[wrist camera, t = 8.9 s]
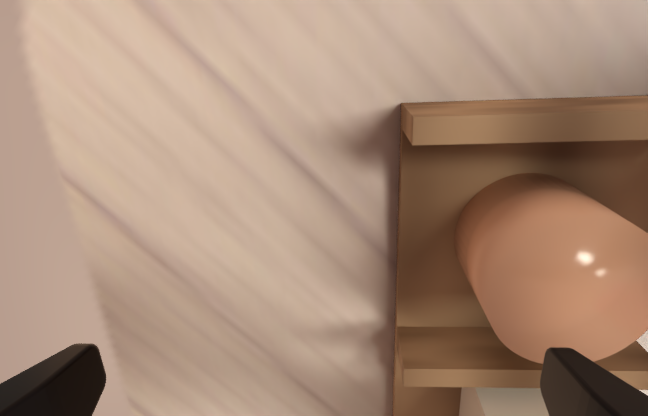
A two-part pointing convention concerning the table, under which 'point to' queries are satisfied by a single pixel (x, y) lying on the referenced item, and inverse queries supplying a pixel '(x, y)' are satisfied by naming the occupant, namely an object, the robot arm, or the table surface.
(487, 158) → the rack
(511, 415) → the cream rectangular block
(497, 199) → the peach rounded capsule
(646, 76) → the table surface
